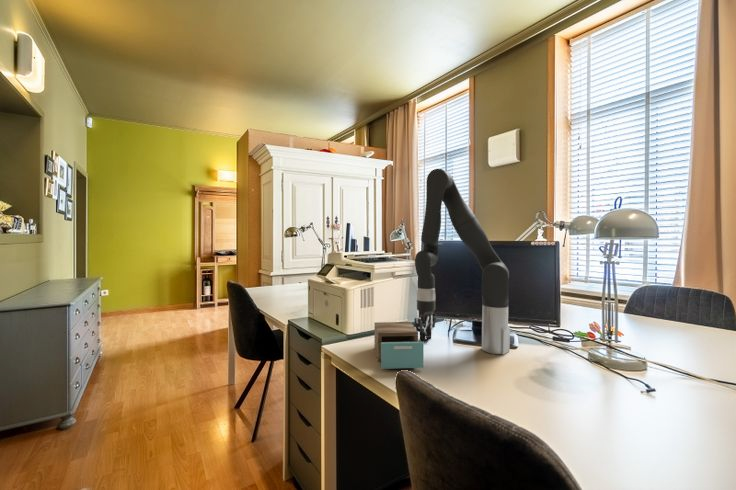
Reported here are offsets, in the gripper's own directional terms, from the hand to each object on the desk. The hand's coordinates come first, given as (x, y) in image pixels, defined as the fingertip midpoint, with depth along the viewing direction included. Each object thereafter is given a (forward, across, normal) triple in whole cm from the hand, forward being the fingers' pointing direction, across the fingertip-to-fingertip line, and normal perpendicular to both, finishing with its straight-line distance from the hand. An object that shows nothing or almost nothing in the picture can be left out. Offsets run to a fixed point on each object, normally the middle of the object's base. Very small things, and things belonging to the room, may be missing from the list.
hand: (425, 339), depth 148 cm
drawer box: (0, -21, 0) cm, 21 cm away
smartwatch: (+1, -1, 0) cm, 1 cm away
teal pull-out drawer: (-1, -28, -7) cm, 29 cm away
